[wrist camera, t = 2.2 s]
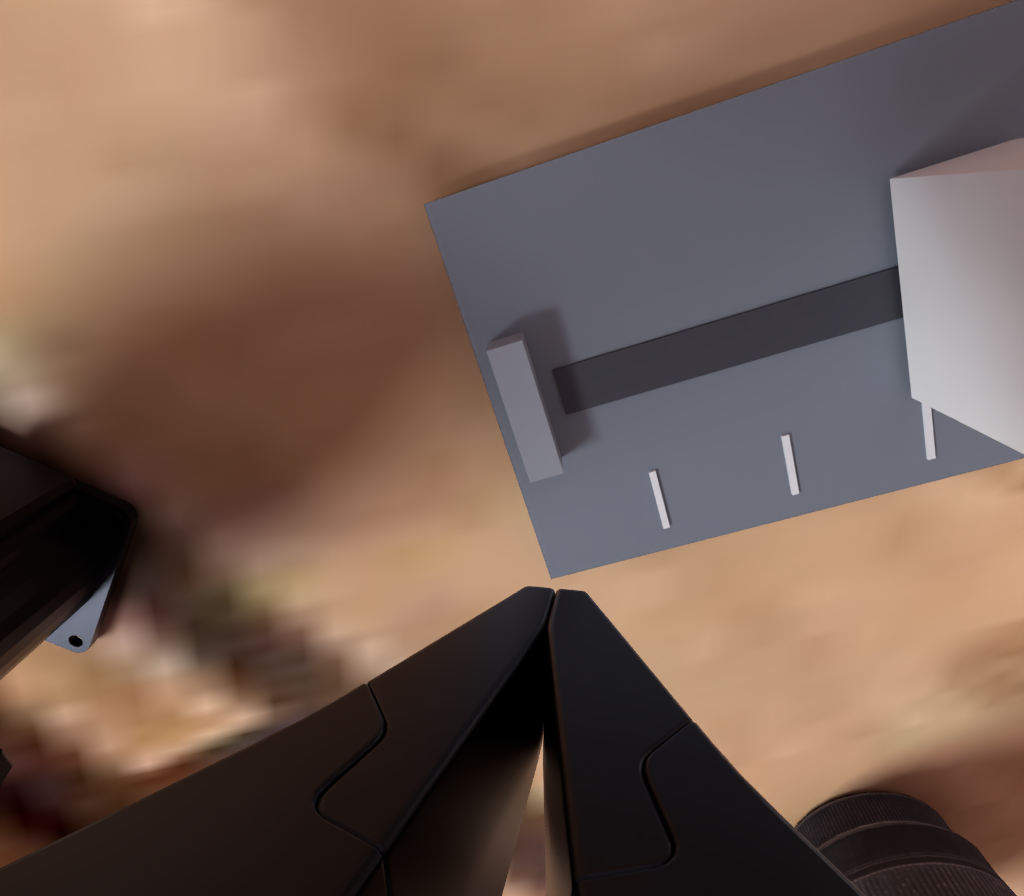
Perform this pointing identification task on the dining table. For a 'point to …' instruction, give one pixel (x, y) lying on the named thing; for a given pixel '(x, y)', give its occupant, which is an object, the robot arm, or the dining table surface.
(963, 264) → the fader knob
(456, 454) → the dining table surface
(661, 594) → the dining table surface
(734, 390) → the mixer panel
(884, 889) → the camera lens
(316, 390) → the dining table surface
